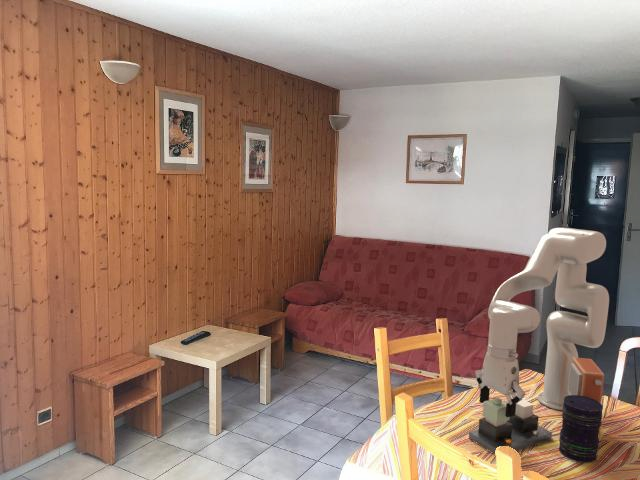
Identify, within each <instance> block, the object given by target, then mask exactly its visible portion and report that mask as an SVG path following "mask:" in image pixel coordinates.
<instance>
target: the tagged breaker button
mask: <svg viewBox="0 0 640 480" xmlns="http://www.w3.org/2000/svg"><path fill="white" fill-rule="evenodd" d="M485 421H487V422H489V423H490V424H492V425H494V426H496V427H497V426H501V425H504V424H506V421H504V422H501V423H497V424H496V423H494V422H492V421H491V420H489V419H487V418H486V419H485Z"/></svg>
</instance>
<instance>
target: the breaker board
mask: <svg viewBox="0 0 640 480" xmlns="http://www.w3.org/2000/svg"><path fill="white" fill-rule="evenodd" d="M539 417H540V416H538V415H537V414H534V413H533V415H532V416H531V417H528V418H525V419H522V418H521V417H519V416H517V415H514V416H511V417H510V419H509V420H508V421H506V424H504V425H501V426H497V427H496V426H494V425H492V424H490V423H489V422H487V421H485V419H486V418H485V417H481V418H479V419H478V428H477V429H473V430H470V431H468V439H469V438H470V439H469V440H471V439H472V440H474V441H475V442H474V441H473V442H474V443H476V442H477V443H478V444H477V443H476V444H477V445H479V444H480V445H482V446H483V447H484V448H483V447H482V446H481V447H482V448H483V449H485V448H486V449H485V450H487V449H488V450H490V451H491V452H493V453H494V454H495V450H496V448H497V447H499V446H509V447H511V448H513V449H515V450H516V451H519V450H523V449H525V448H529V447H531V446H534V445H537V444H540V443H543V442H547V441H549V440H552V436H553V432H552V431H550V430H549V429H546V428H545V427H542V426H540V425H539ZM472 440H471V441H472ZM480 445H479V446H480ZM488 450H487V451H488ZM490 451H489V452H490ZM516 451H515V452H516ZM491 452H490V453H491ZM493 453H492V454H493ZM494 454H493V455H494Z"/></svg>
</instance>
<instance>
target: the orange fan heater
mask: <svg viewBox="0 0 640 480" xmlns="http://www.w3.org/2000/svg"><path fill="white" fill-rule="evenodd" d="M570 365H571V366H570V376H569V386H568V393H569V395H579V396H585V397H589V398H592V399H594V400H596V401H598V402H600V403H601V404H602V399H603V396H604V395H603V394H604V380H605V374H604V372H603V371H602V370H601V369H600V368H599V366H598V365H597V364H596V362H595V361H594V360H593V359H592V358H586V357H585V358H584V357H583V358H582V357H578V358H575V357H573V361H572V363H571V364H570Z"/></svg>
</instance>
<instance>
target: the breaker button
mask: <svg viewBox="0 0 640 480" xmlns="http://www.w3.org/2000/svg"><path fill="white" fill-rule="evenodd" d="M533 414H534V404H533V403H531V402H529V401H527V400H525V399H523V398H522V400H521V401H519V402H518V403H516V412H515V415H517V416H519V417H521V418H522V419H525V418H528V417H531V416H532V415H533Z"/></svg>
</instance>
